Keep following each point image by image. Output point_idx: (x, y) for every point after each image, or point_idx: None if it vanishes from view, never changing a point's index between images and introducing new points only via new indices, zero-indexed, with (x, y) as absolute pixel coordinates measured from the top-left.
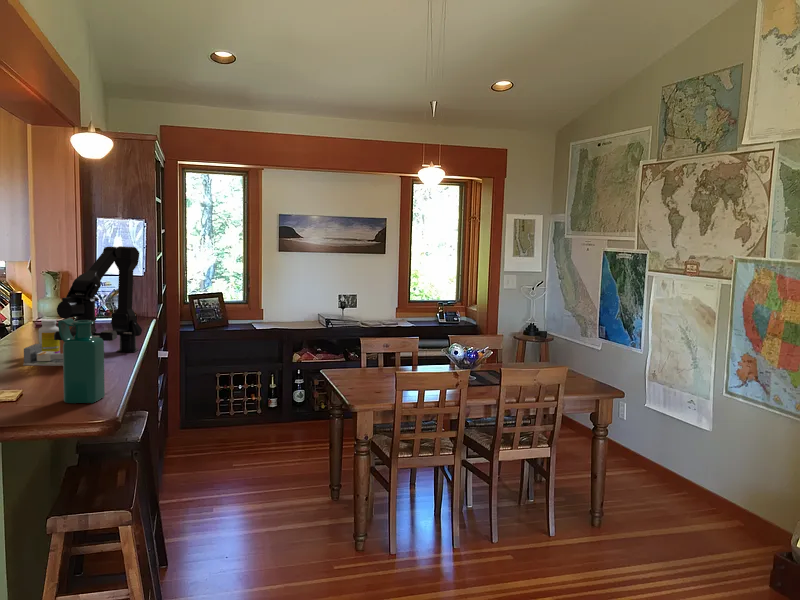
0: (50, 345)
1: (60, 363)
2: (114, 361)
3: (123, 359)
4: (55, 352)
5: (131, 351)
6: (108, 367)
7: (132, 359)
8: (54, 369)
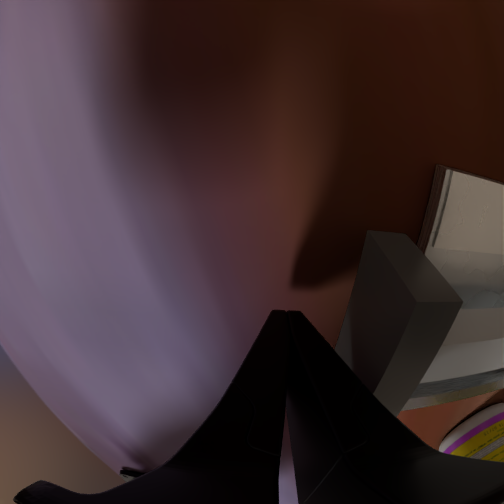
0: (501, 454)
1: (501, 193)
2: (75, 334)
3: (65, 377)
4: (468, 436)
5: (130, 474)
6: (10, 93)
7: (26, 366)
8: (494, 20)
